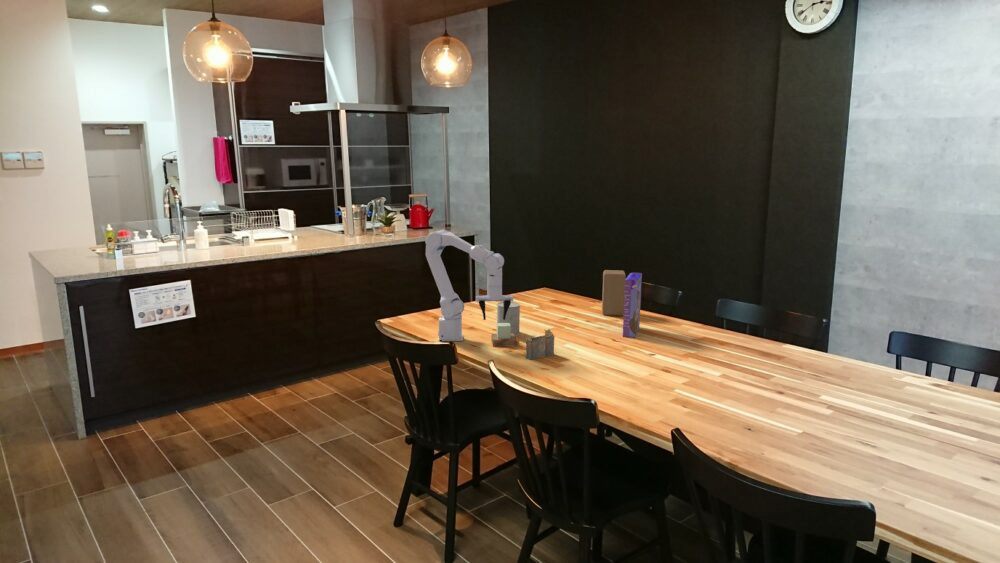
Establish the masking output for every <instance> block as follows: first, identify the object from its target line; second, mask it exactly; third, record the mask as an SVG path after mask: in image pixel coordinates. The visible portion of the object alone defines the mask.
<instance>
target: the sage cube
mask: <svg viewBox="0 0 1000 563" xmlns="http://www.w3.org/2000/svg"><path fill="white" fill-rule="evenodd" d="M496 334H497V338H498V339H509V338H511V326H510V323H497V322H496Z"/></svg>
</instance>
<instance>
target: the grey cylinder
mask: <svg viewBox="0 0 1000 563" xmlns="http://www.w3.org/2000/svg"><path fill="white" fill-rule="evenodd" d="M510 302H511V301H510ZM496 307H497V308H496V324H497V323H510V326H511V333H514V335H516V336H518V335H520V322H521V321H520V318H521V316H520V315H521V311H520V310H521V308H520V307H521V304H520V303H519V302H517V301H513V302H511V304H510V306H509V308H508V311H507V313H506V317H505V320H503V310H504V306H503V301H500V302H498V303H497V304H496Z"/></svg>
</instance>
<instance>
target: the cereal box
mask: <svg viewBox="0 0 1000 563" xmlns="http://www.w3.org/2000/svg"><path fill="white" fill-rule="evenodd" d="M642 277H643V273H642V272H630V273H629V274H628V275H627V277H626V279H625V294H624V315H623V316H622V317H623V320H622V322H623V323H622V337H623V338H631V339H634V338H636V336H637V333H638V331H639V329H640V321H641V320H640V319H641V304H642V303H641V302H642V283H643V282H642V279H643V278H642Z"/></svg>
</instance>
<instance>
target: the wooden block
mask: <svg viewBox="0 0 1000 563" xmlns="http://www.w3.org/2000/svg"><path fill="white" fill-rule="evenodd" d="M626 275H627V274H626V273H625V271H624V270H618V269H616V270H614V269H613V270H611V269H610V270H609V269H604V271H603V273H602V295H601V297H602V298H601V300H602V301H601V312H602V315H603V316H615V317H616V316H617V317H619V316H620V317H624V294H625V279H626V278H627V277H626Z"/></svg>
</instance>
